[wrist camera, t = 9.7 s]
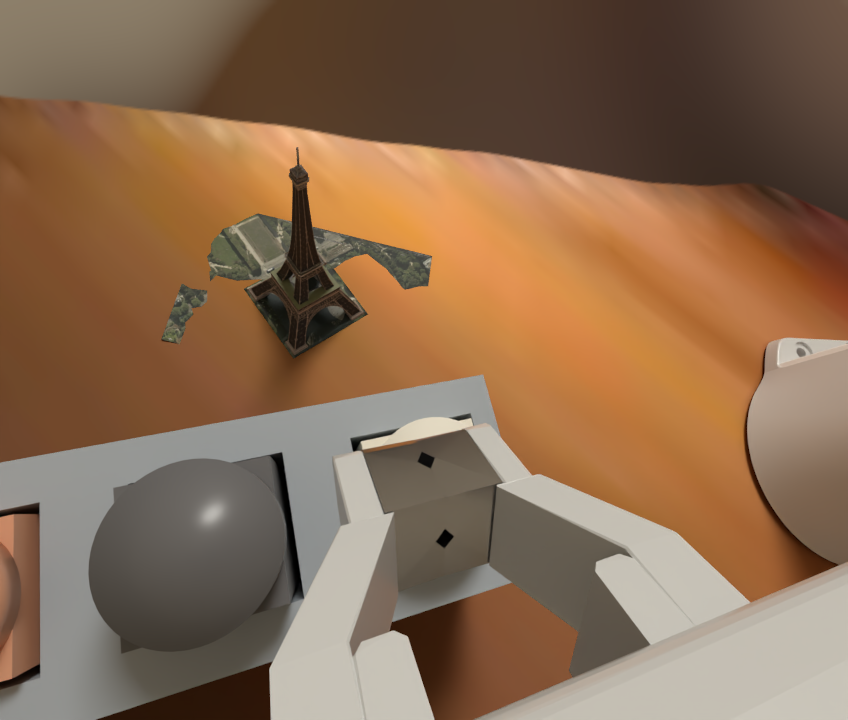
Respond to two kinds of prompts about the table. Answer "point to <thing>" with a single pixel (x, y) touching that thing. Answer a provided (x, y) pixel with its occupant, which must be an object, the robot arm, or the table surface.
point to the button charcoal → (193, 553)
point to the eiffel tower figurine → (295, 273)
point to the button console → (228, 441)
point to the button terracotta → (19, 594)
